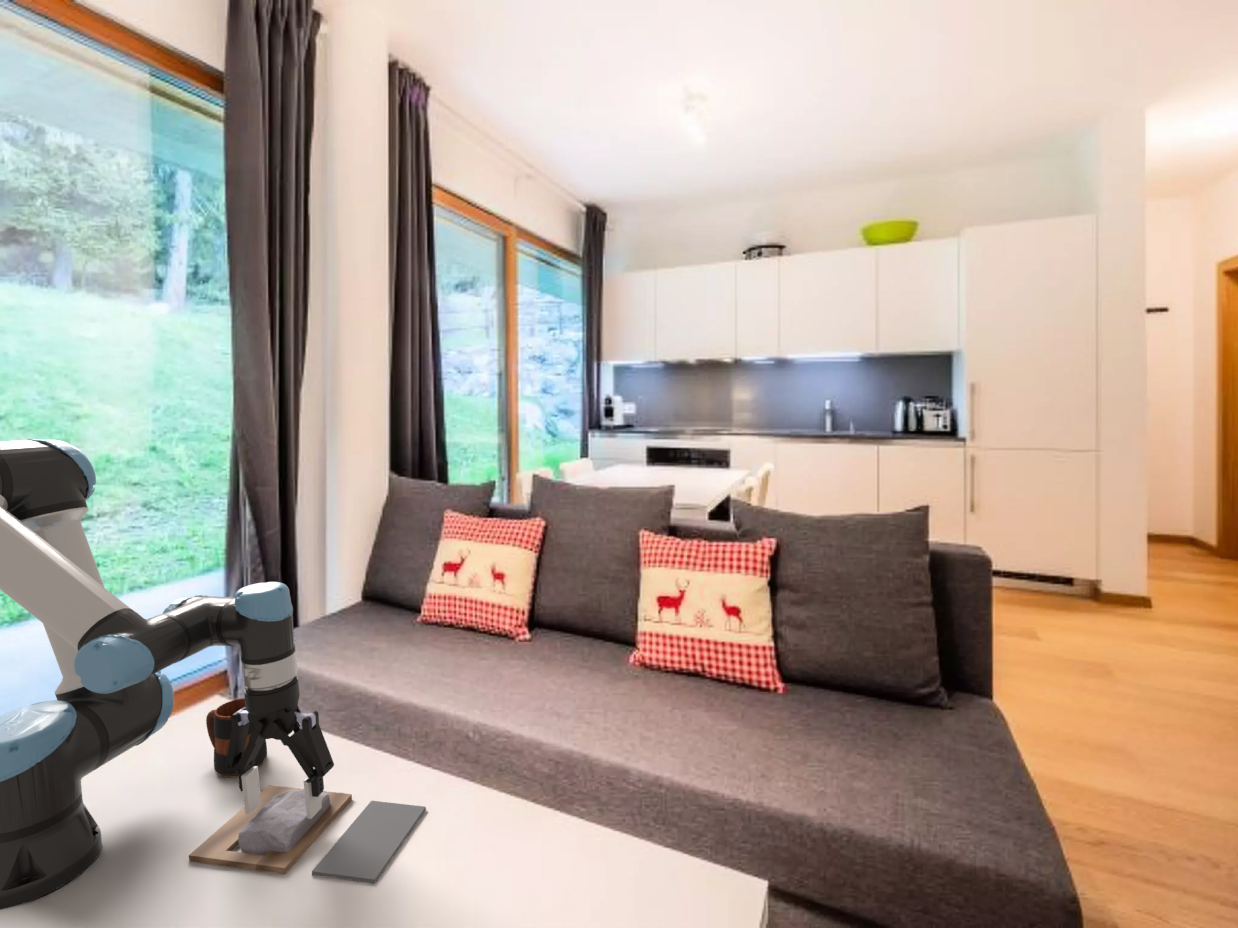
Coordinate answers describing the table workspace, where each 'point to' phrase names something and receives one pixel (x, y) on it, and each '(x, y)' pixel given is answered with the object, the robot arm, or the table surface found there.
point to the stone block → (279, 823)
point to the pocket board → (226, 841)
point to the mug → (228, 736)
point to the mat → (370, 842)
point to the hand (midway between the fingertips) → (283, 810)
